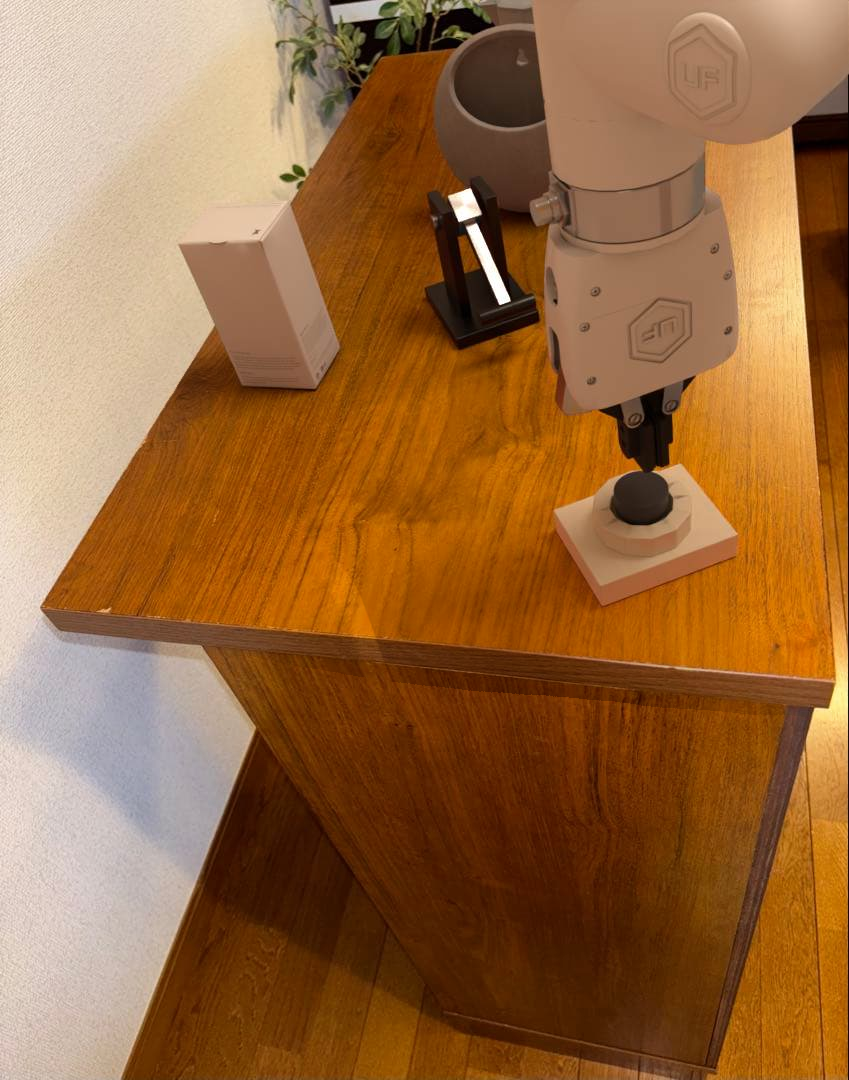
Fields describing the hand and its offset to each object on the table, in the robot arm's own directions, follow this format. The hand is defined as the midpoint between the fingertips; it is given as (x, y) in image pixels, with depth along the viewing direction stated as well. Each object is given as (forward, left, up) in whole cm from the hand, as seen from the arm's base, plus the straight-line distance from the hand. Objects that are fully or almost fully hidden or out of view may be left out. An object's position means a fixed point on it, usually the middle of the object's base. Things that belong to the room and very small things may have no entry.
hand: (646, 456), depth 63 cm
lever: (0, -31, -2) cm, 31 cm away
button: (0, 0, -5) cm, 5 cm away
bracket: (0, -34, -9) cm, 36 cm away
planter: (-11, -48, -9) cm, 50 cm away
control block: (0, 0, -9) cm, 9 cm away
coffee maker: (-21, -66, -9) cm, 70 cm away
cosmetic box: (+19, -35, -9) cm, 41 cm away
